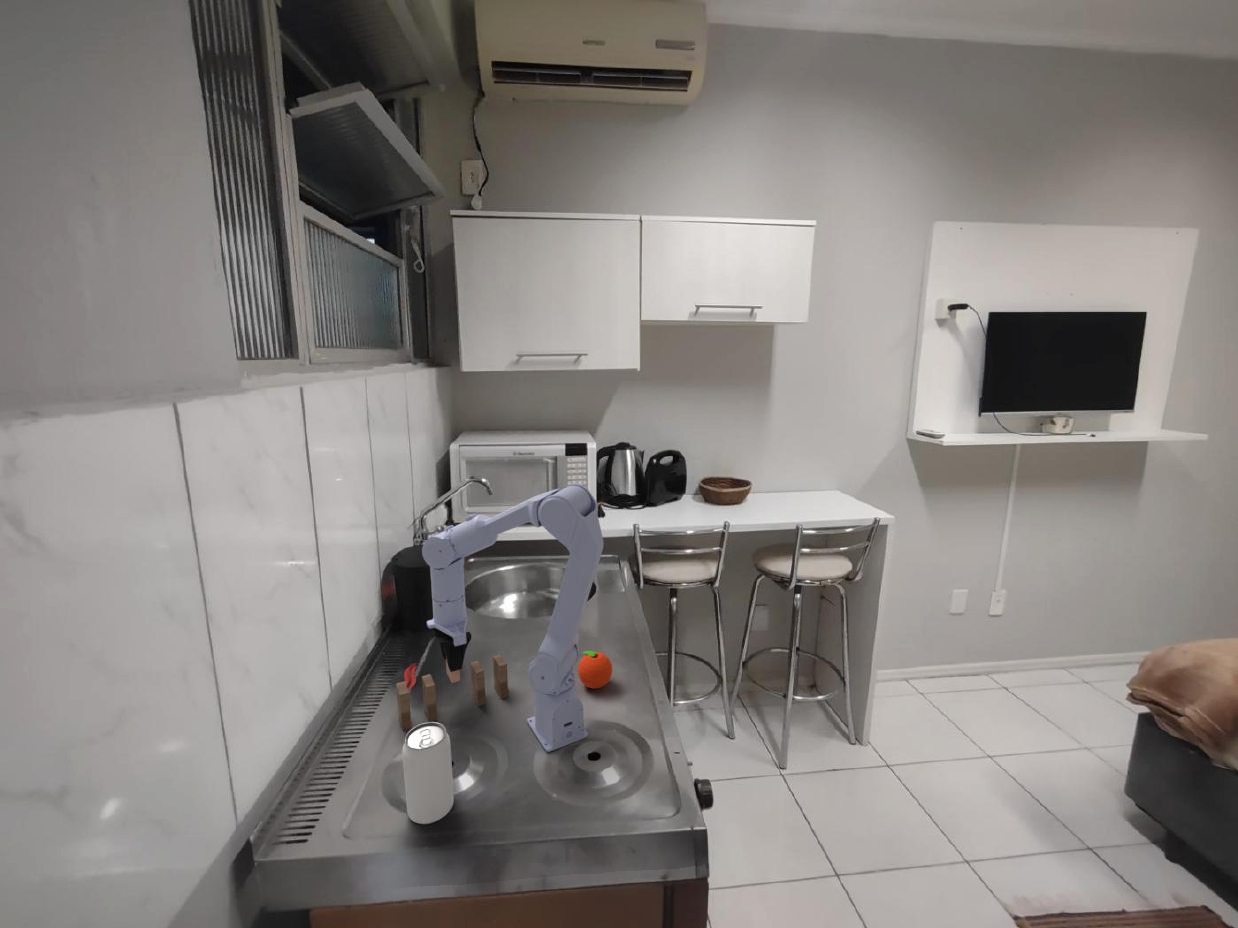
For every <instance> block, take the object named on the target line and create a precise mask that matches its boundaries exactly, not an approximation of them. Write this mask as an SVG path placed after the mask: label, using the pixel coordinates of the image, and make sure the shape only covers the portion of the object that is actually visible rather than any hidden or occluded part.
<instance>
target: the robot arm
mask: <svg viewBox="0 0 1238 928" xmlns="http://www.w3.org/2000/svg"><path fill="white" fill-rule="evenodd" d="M598 511H599V503H598V502H597V500H596V499H595V497H594V496H593V495H592V493H591V491H590V490H589V489H588V488H586V487H585V486H584V485H581V484H578V483H570V484H567V485H566V486H564V487H563V488H562V489H560V488H555V489H552V490H549V491H547V492H543V493H541V494H537V495H535V496H532V497H531V498H529V499H526V500H524V501H522V502H521V503H518V504H516V505H514V506H513V507H511V508H509V509H507V510H503V512H500V513H498V514H496V515H494V516H492V517H491V516H488V515H486V514H478V515H476V513H473V514H471V515H468V516H466V517H465V518H464V519H465V521H464V522H461V523H459V524H456V525H455V526H454V524H451V525H448V526H447V527H445V530H443V531H441V532H438V533H437V534H435V535H432V536H430V537H429V538H428V539H427V540H425V541H424V543H423V545H422V548H421V555H422V557H423V560H424V561H425V563H426V564H427V565H428V566H429V569H430V583H431V585H430V586H431V600H432V602H431V603H432V615H433V617H432V619H429V620H427V621H426V626H427V627H428V629H432V631H433V633H435V636H436V638H437V641H438V643H439V648H440V652H441V655H442V657H443V660H444V661H446V659H447V664H448V667H449V670H450V672H453V671H457V670H462V669H463V665H464V661H465V655H466V651H467V648H468V646H469V644H470V643H471V641H472V634H471V632H470V631H466V629H467V623H468V614H467V610H466V609H467V608H466V591H465V573H464V569H465V568H464V565H465V557H468V556H470V555H472V554H475V553H477V552H480V551H482V550H485V549H486V548H488V547H491V546H493V545H494V544H495V543H496V542H497V539H498V536H499V535H500V534H502V533H505V532H507V531H509V530H512V529H515V528H517V527H520V526H522V525H525V524H527V523H530V524H532V525H533V526H535V527H536V528H540V527H543V528H544V529H545V530H546V531H547V532H548V533H549V534H550V535H552V536H553V537H554V538H555V539H556V540H557V541H558V542H560V544H562V545H563V546H564V547H566V549H567V550H568V552H569V556H568V559H567V562H566V563H567V564H566V565H565V570H564V573H563V577H562V581H561V583H560V587H559V591H558V595H557V598H556V602H555V604H554V608H553V611H552V616H551V619H550V622H549V625H548V629H547V632H546V635H545V637H544V639H543V641H542V642H541V644H540V645H539V646H540V647H539V649H538V650H537V654H536V657H535V658H534V659H533V660H532V661H531V662H529V663H530V664H529V665H528V666H527V668H526V669H527V670H526V677H527V681H528V683H529V685H530V686H531V687H532V688H533V696H534V697H533V699H534V700H533V701H534V704H533V705H534V715H533V716H530V717H528V718H526V722H527V724H528V726H529V727H530V729H531V730H532V732H533V733H534V735H535V737H536V738H537V740H538V741H539V743H540V745H541V746H542V747H543V749H544V750H545V752H547V753H550V752H552V751H555V750H556V749H560V748H562V747H565V746H568V745H569V744H570V745H571V744H572V743H575V742H578V741H580V740H583V739H586V738H588V737H589V732H588V731H587V730H586V728H585V726H584V705H583V702H582V700H581V699H580V698H579V696H578V694H577V692H576V691H577V690H576V679H575V673H574V666H575V665H576V663H577V662H578V660H579V658H580V657H579V655H580V650H579V640H580V635H579V634H578V632H579V629H580V625H581V622H582V619H583V616H584V613H585V610H586V609H585V608H586V606H587V604H588V603H587V602H588V599H589V597H590V593H591V589H592V585H593V582H594V580H595V577H596V573H597V570H598V566H599V563H600V559H601V556H602V553H603V549H604V538H603V533H602V528H601V525H600V520H599V516H598Z"/></svg>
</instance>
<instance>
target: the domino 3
mask: <svg viewBox="0 0 1238 928" xmlns="http://www.w3.org/2000/svg"><path fill="white" fill-rule="evenodd" d="M445 667H446V674H447V676H448V678H449V681H450V682H451V683H452V684H454V683H457V682H460V681H461V675H460V674H461V673H460V670H461V669H460V670H457V671H453V672H450V670H449V667H448V664H447V659H446V660H445Z"/></svg>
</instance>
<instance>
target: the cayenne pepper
mask: <svg viewBox="0 0 1238 928" xmlns="http://www.w3.org/2000/svg"><path fill="white" fill-rule="evenodd" d="M417 665H418V663H411V664H410V665H409V666H408V667H407V668H406V669H405V670H404V673H403V678H404V681H405V683H406V686H407V688H408V691H409V692H410V690H412V689H413V688H414V687H415V685H416V683H417V678H416V676H415V674H416V669H417Z"/></svg>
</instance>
